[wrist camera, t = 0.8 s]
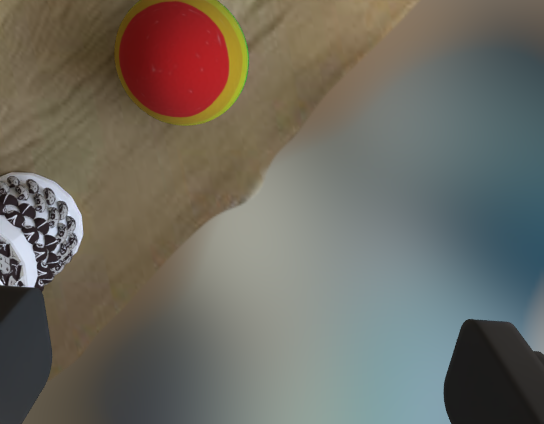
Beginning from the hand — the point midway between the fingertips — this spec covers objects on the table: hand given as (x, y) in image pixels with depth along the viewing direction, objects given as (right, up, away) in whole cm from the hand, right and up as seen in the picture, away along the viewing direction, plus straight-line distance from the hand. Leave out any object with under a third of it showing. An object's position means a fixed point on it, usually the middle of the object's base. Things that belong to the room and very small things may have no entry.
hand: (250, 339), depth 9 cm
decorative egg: (-5, +14, +24) cm, 28 cm away
